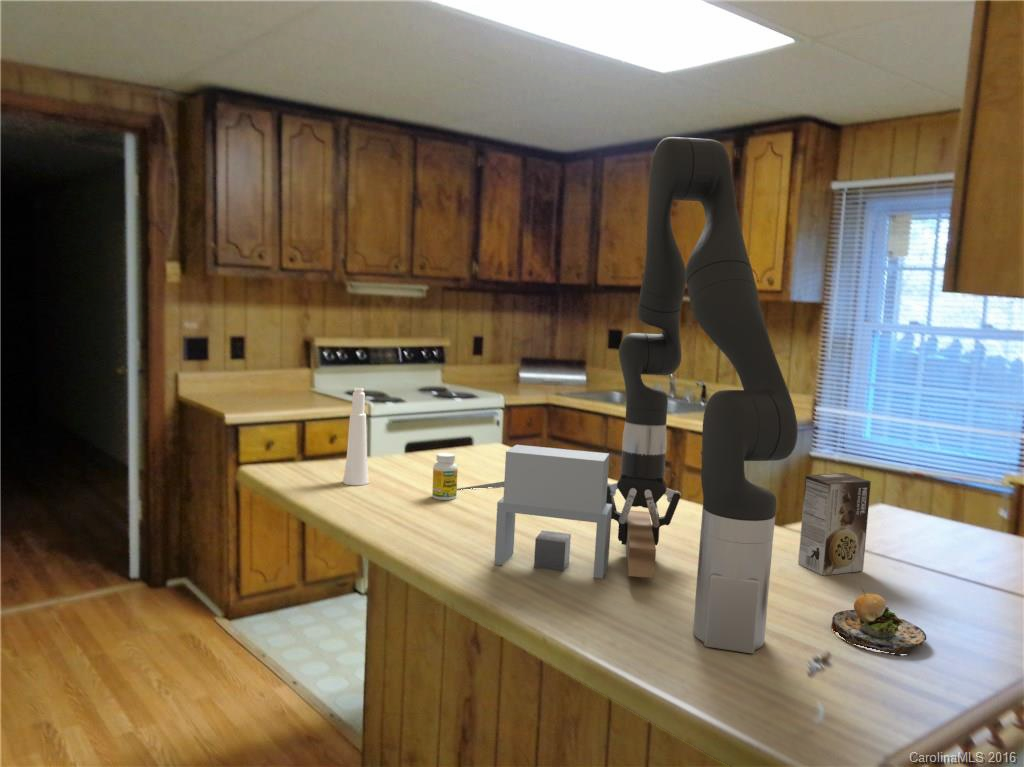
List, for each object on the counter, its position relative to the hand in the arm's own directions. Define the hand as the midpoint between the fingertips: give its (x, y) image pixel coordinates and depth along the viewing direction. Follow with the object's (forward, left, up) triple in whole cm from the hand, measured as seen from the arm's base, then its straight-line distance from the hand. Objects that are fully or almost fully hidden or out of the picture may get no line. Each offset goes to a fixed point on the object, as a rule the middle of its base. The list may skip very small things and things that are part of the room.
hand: (638, 544), depth 136 cm
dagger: (+42, +35, -3) cm, 55 cm away
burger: (-22, -35, -3) cm, 41 cm away
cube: (-10, +13, -2) cm, 17 cm away
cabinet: (-10, +13, -2) cm, 17 cm away
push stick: (-4, 0, 0) cm, 4 cm away
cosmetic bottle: (+28, +67, -2) cm, 73 cm away
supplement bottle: (+24, +44, -2) cm, 51 cm away
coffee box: (+7, -33, -2) cm, 34 cm away
